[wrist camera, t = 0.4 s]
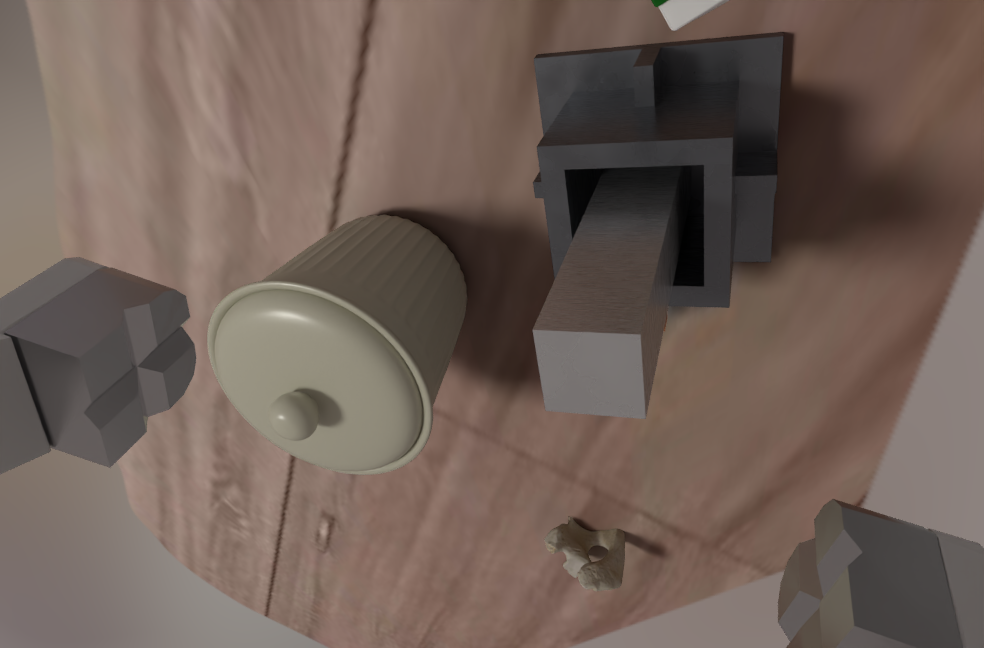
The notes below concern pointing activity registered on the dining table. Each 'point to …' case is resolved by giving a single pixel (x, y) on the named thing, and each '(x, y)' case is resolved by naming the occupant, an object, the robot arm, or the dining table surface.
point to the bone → (578, 562)
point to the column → (614, 294)
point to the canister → (345, 345)
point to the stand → (669, 144)
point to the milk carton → (685, 10)
